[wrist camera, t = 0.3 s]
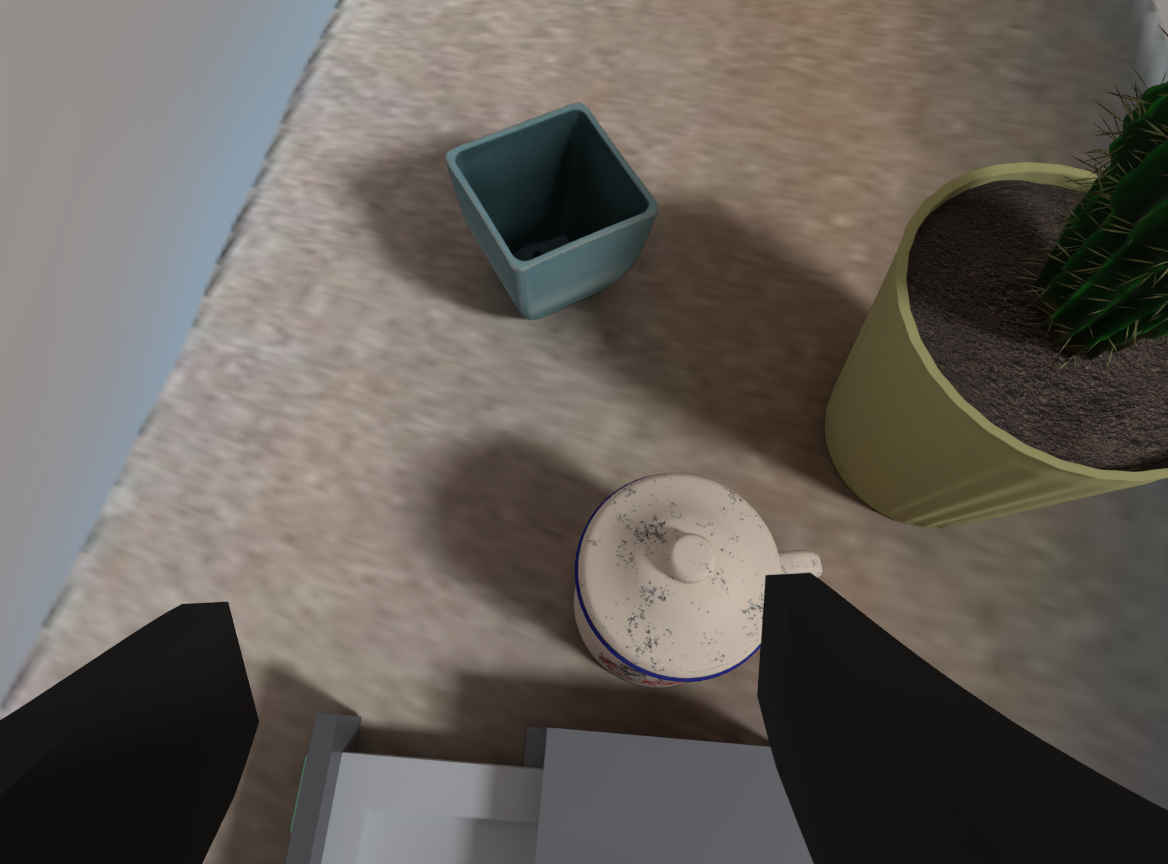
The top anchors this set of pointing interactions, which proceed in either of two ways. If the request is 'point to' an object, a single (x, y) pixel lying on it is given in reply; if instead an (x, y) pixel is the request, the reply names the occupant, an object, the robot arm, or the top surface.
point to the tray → (408, 806)
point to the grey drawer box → (659, 801)
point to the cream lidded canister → (676, 580)
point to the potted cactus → (1017, 340)
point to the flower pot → (552, 208)
